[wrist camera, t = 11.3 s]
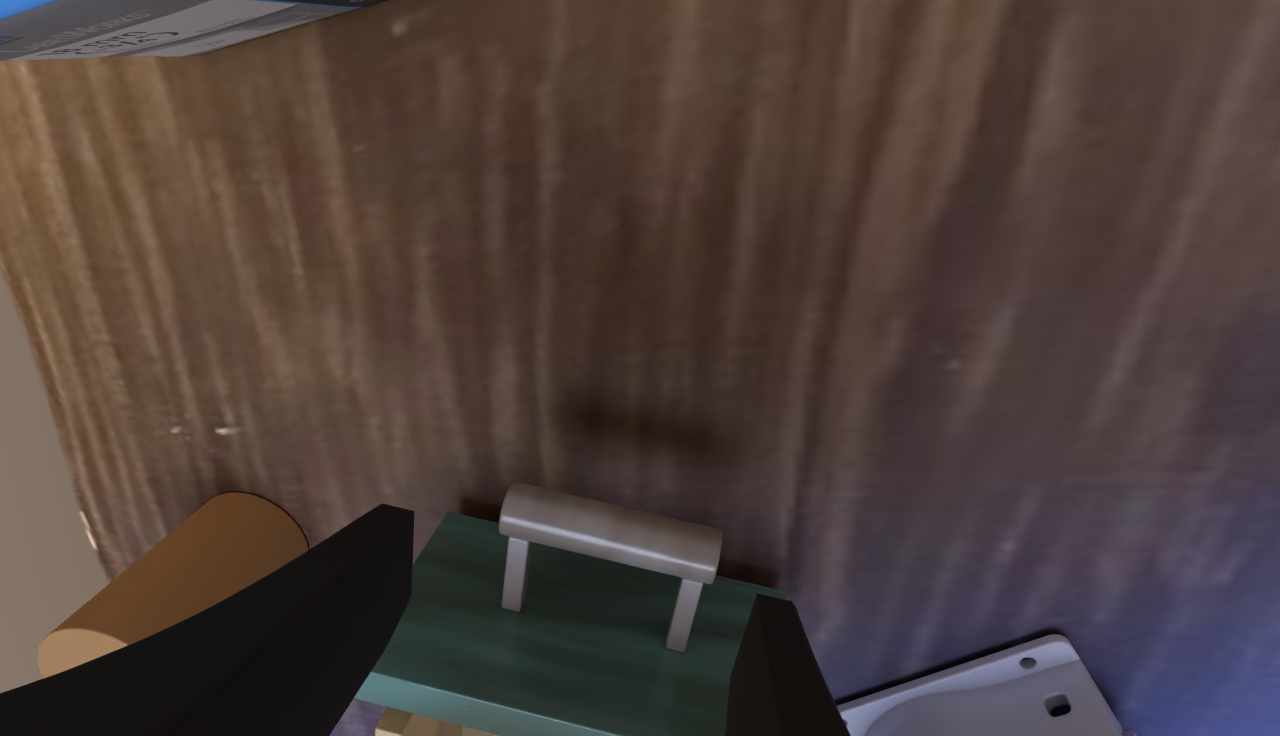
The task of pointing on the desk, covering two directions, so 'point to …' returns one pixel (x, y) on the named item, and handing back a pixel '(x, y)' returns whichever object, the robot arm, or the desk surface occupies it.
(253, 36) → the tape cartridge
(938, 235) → the desk surface
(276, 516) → the paper roll
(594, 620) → the drawer
